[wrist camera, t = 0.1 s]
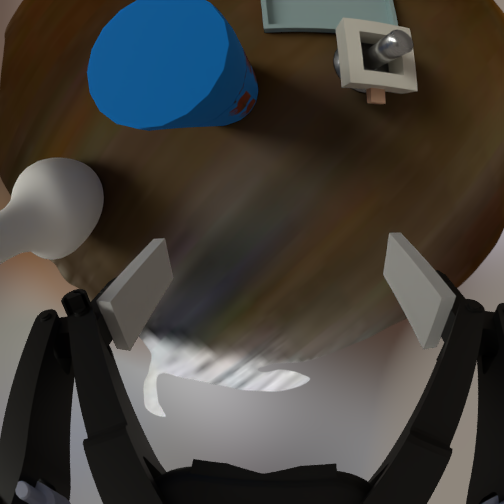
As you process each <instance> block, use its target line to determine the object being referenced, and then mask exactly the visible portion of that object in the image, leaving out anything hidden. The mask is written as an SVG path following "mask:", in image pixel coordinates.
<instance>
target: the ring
mask: <svg viewBox="0 0 504 504" xmlns="http://www.w3.org/2000/svg"><path fill="white" fill-rule="evenodd" d="M335 30H336V37H337V45H338V54H339V64H340V74H341V87H342V88H356V89H366V93H367V103H371V104H386V101H385V92H393V93H400V94H404V93H409V92H415V91H418V90H417V78H416V68H415V59H414V52H413V49H412V51H411V52H409V53H407V54H405V55H402V56H400V57H398V58H396V59H394V60H392V61H390V62H388V66H389V73H385V72H378V71H370V70H364V66H363V57H362V48H361V43H368V44H375V43H377V42H378V41H379V40H381V39H382V38H383V37H385V36H386V35H387V34H389V33H390V32H391V31H393V30H402V31H404V32H406V33H407V34H408V35H409V36H410V37H411V33H410V29H409V28H405V27H401V26H396V25H391V24H386V23H380V22H374V21H368V20H361V19H353V18H344V17H343V18H342V20H341V21H340V23H339V24H338V26H337V28H336V29H335Z"/></svg>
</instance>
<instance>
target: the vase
mask: <svg viewBox="0 0 504 504" xmlns="http://www.w3.org/2000/svg"><path fill="white" fill-rule="evenodd" d="M103 203H104V193H103V188H102V184H101V182H100V179H99V177H98V176H97V174H96V173H95V172H94V171H93V170H92V169H91V168H90V167H89V166H87V165H86V164H84V163H82V162H80V161H77V160H74V159H68V158H49V159H44V160H40V161H38V162H36V163H34V164H32V165H30V166H29V167H27V168H26V169H25V170H24V171H23V172H22V173H21V174H20V176H19V177H18V179H17V181H16V183H15V185H14V188H13V190H12V196H11V201H10V202H9V203H8V204H7V206H6V207H5V208H4V209H2V210H1V211H0V264H1V263H3V262H5V261H6V260H8V259H10V258H12V257H14V256H16V255H18V254H20V253H22V252H29V251H31V252H32V253H34V254H35V255H37V256H39V257H41V258H45V259H51V260H53V259H59V258H63V257H65V256H67V255H69V254H71V253H72V252H73V251H75V250H76V249H77V248H78V247H79V246H80V245H81V244H82V243H83V242H84V241H85V240H86V239H87V238H88V236H89V235H90V234H91V232H92V231H93V229H94V228H95V226H96V224H97V223H98V221H99V218H100V215H101V213H102V208H103Z"/></svg>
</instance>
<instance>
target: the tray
mask: <svg viewBox="0 0 504 504" xmlns="http://www.w3.org/2000/svg"><path fill="white" fill-rule="evenodd" d="M261 6H262V15H263V25H264V33H270V32H323V33H336V30H335V29H336V28H337V26H338V24H339V23H340V21H341V20H342V18H343V17H344V18H353V19H361V20H368V21H374V22H380V23H386V24H391V25H396V26H398V22H397V17H396V12H395V8H394V3H393V0H261Z"/></svg>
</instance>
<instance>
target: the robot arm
mask: <svg viewBox="0 0 504 504" xmlns="http://www.w3.org/2000/svg"><path fill="white" fill-rule="evenodd" d="M383 275H384V277H385V279H386V280H387V282H388V284H389V286H390V287H391V289H392V291H393V293H394V294H395V296H396V298H397V300H398V302H399V303H400V305H401V307H402V309H403V311H404V313H405V315H406V316H407V318H408V320H409V322H410V324H411V326H412V328H413V330H414V332H415V334H416V336H417V338H418V340H419V342H420V344H421V346H422V348H423V349H428V348H434V347H437V345H438V343H439V340H440V338H441V337H442V339H443V341H444V345H443V347H442V349H441V352H440V354H439V356H438V358H437V362H436V365H435V367H434V370H433V372H432V374H431V377H430V379H429V381H428V383H427V385H426V388H425V390H424V392H423V394H422V396H421V398H420V400H419V402H418V404H417V406H416V408H415V410H414V412H413V414H412V416H411V417H410V419H409V421H408V423H407V425H406V426H405V428H404V430H403V432H402V434H401V435H400V437H399V438H398V440H397V442H396V443H395V445H394V447H393V448H392V450H391V451H390V453H389V455H388V456H387V457H386V459H385V460H384V462H383V463H382V465H381V466H380V468H379V469H378V470H377V471H376V473H375V474H374V475H373V476H372V478H371V479H370V480H369V481H368V482H367V481H366V480H364V479H362V478H360V477H358V476H356V475H353V474H350V473H346V472H340V471H337V469H336V464H325V465H310V466H299V467H294V468H290V469H286V470H281V471H277V472H271V473H266V474H261V473H257V472H254V471H250V470H247V469H243V468H240V467H236V466H233V465H230V464H227V463H218V462H209V461H202V460H195V459H194V460H193V464H192V467H184V468H178V469H175V470H171V471H169V472H166V471H165V470H164V468H163V467H162V465H161V464H160V463H159V461H158V459H157V457H156V456H155V454H154V452H153V450H152V448H151V446H150V444H149V442H148V440H147V438H146V436H145V434H144V431H143V429H142V427H141V425H140V423H139V421H138V419H137V416H136V414H135V412H134V409H133V407H132V404H131V402H130V400H129V397H128V395H127V392H126V390H125V387H124V384H123V382H122V379H121V376H120V374H119V371H118V368H117V365H116V362H115V359H114V356H113V353H112V350H111V348H110V346H109V344H110V343H111V341H112V340H113V341H114V343H115V346H116V348H117V349H122V350H129V351H130V350H131V348H132V347H133V345H134V343H135V341H136V340H137V338H138V336H139V334H140V333H141V331H142V329H143V328H144V326H145V324H146V323H147V321H148V319H149V318H150V316H151V314H152V313H153V311H154V309H155V308H156V306H157V304H158V303H159V301H160V299H161V298H162V296H163V294H164V293H165V291H166V290H167V288H168V286H169V285H170V283H171V282H172V280H173V274H172V269H171V265H170V260H169V255H168V250H167V245H166V240H165V238H161V239H153V240H152V241H151V242H150V243H149V244H148V245H147V246H146V247H145V248H144V249H143V250H142V251H141V253H140V254H139V255H138V256H137V257H136V258H135V259H134V260H133V261H132V262H131V263H130V264H129V265H128V266H127V267H126V268H125V270H124V271H123V272H122V273H121V274H120V275H119V276H118V277H116V278H114V279H113V280H111V281H110V282H108V283H107V285H106V286H105V287H104V288H103V289H102V290H101V291H100V293H98V295H97V296H96V297H95V298H94V299H93V300H92V301H91V302H90V300H89V298H88V295H87V293H86V291H85V290H83V289H77V290H73V291H71V292H69V293H67V294H66V295H65V296H64V297H63V298H62V300H61V302H62V304H63V307H64V309H65V311H66V314H67V316H68V317H61V318H59V317H58V315H57V312H56V311H55V310H53V309H50V310H45V311H43V312H41V313H40V314H39V315H38V316H37V318H36V319H35V322H34V324H33V326H32V329H31V331H30V334H29V336H28V339H27V341H26V344H25V347H24V350H23V352H22V355H21V358H20V361H19V364H18V367H17V370H16V374H15V377H14V380H13V384H12V387H11V391H10V395H9V399H8V403H7V407H6V411H5V417H4V421H3V426H2V431H1V438H0V504H70V502H69V499H70V488H71V486H70V422H71V407H72V394H73V385H74V377H75V382H76V387H77V392H78V398H79V402H80V407H81V412H82V416H83V420H84V424H85V428H86V432H87V435H88V439H84V441H83V445H84V450H85V454H86V457H87V460H88V464H89V467H90V470H91V473H92V476H93V478H94V481H95V484H96V487H97V489H98V492H99V494H100V497H101V499H102V502H103V504H427V502H428V501H429V499H430V497H431V495H432V493H433V492H434V490H435V488H436V486H437V484H438V482H439V480H440V479H441V477H442V475H443V472H444V470H445V468H446V466H447V464H448V462H449V460H450V457H451V454H452V449H451V448H450V444H451V441H452V439H453V436H454V434H455V431H456V429H457V426H458V423H459V421H460V418H461V415H462V412H463V409H464V406H465V403H466V399H467V396H468V393H469V389H470V386H471V382H472V378H473V374H474V370H475V366H476V362H477V365H478V422H477V435H476V445H475V454H474V461H473V467H472V473H471V479H470V484H469V489H468V495H467V501H466V504H504V303H501V304H499V305H498V306H497V309H496V311H495V312H488V311H485V310H484V307H483V306H482V305H481V304H480V303H479V302H477V301H475V300H471V299H465V298H464V297H463V295H462V294H461V293H460V291H459V290H458V289H457V288H456V287H454V284H453V283H452V282H451V281H450V280H449V278H448V277H447V276H446V275H445V274H443V273H442V272H440V271H438V270H436V271H435V270H434V269H433V268H432V266H431V265H430V264H429V263H428V262H427V261H426V260H425V259H424V257H423V256H422V255H421V254H420V253H419V252H418V251H417V250H416V249H415V247H414V246H413V245H412V244H411V243H410V242H409V241H408V240H407V239H406V238H405V237H404V236H403V235H402V234H401V233H389V238H388V245H387V253H386V259H385V266H384V272H383Z"/></svg>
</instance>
